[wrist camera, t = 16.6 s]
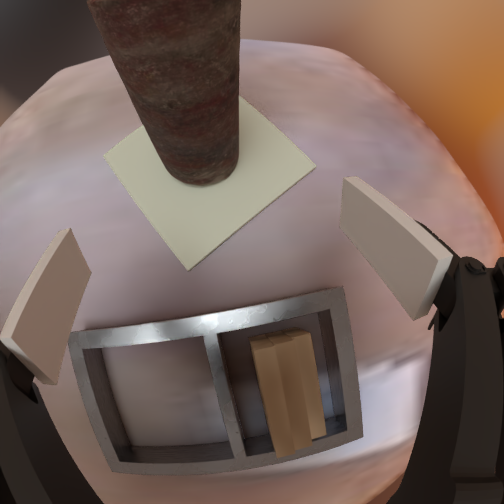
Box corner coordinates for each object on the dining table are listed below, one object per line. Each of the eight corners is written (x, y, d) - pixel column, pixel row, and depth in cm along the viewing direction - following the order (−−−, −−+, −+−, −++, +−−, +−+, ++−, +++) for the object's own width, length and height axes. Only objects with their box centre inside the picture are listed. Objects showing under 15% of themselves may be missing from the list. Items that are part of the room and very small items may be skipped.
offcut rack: (123, 456, 20) (112, 471, 16) (84, 329, 22) (65, 332, 19) (349, 423, 22) (363, 436, 19) (328, 288, 24) (343, 286, 21)
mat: (104, 158, 25) (102, 155, 25) (218, 82, 28) (218, 78, 27) (189, 271, 24) (187, 270, 23) (315, 168, 26) (316, 166, 26)
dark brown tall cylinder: (169, 200, 24) (68, 14, 4) (157, 138, 25) (95, -31, 6) (247, 179, 25) (279, -31, 5) (228, 120, 26) (232, -60, 6)
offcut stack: (267, 423, 22) (277, 457, 15) (248, 337, 23) (253, 350, 17) (310, 412, 22) (332, 442, 16) (295, 326, 24) (316, 335, 17)
